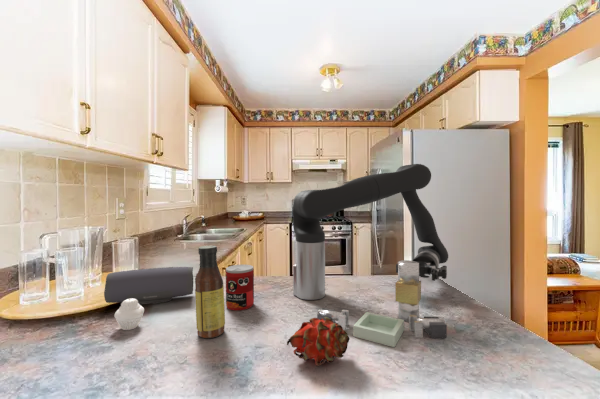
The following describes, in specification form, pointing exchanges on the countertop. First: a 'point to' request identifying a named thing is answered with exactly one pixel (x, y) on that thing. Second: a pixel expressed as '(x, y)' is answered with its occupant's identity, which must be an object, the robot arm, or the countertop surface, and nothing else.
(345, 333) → the dragon fruit
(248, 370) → the countertop surface
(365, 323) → the mint green tray
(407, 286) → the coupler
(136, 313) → the muffin
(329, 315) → the shaft
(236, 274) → the canned food
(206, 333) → the sauce bottle
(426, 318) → the shaft
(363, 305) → the countertop surface
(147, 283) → the bluetooth speaker
